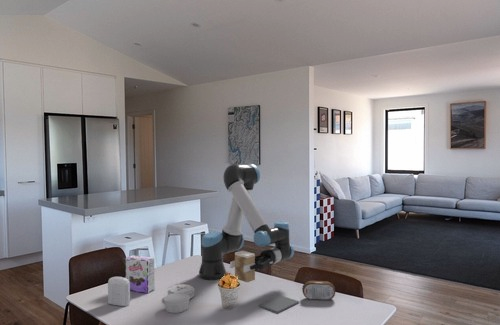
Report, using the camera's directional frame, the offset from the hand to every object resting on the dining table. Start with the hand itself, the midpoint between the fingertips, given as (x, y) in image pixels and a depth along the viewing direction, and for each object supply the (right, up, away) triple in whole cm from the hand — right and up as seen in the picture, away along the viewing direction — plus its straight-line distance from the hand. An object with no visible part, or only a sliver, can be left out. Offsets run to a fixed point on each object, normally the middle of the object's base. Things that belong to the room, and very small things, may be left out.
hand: (237, 267), depth 166 cm
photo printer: (-54, -18, +2) cm, 57 cm away
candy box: (-50, -17, +19) cm, 56 cm away
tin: (+38, -17, +5) cm, 41 cm away
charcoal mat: (+19, -17, -1) cm, 25 cm away
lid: (-27, -17, +9) cm, 33 cm away
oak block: (+3, -7, +4) cm, 8 cm away
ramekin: (-26, -17, -4) cm, 32 cm away
